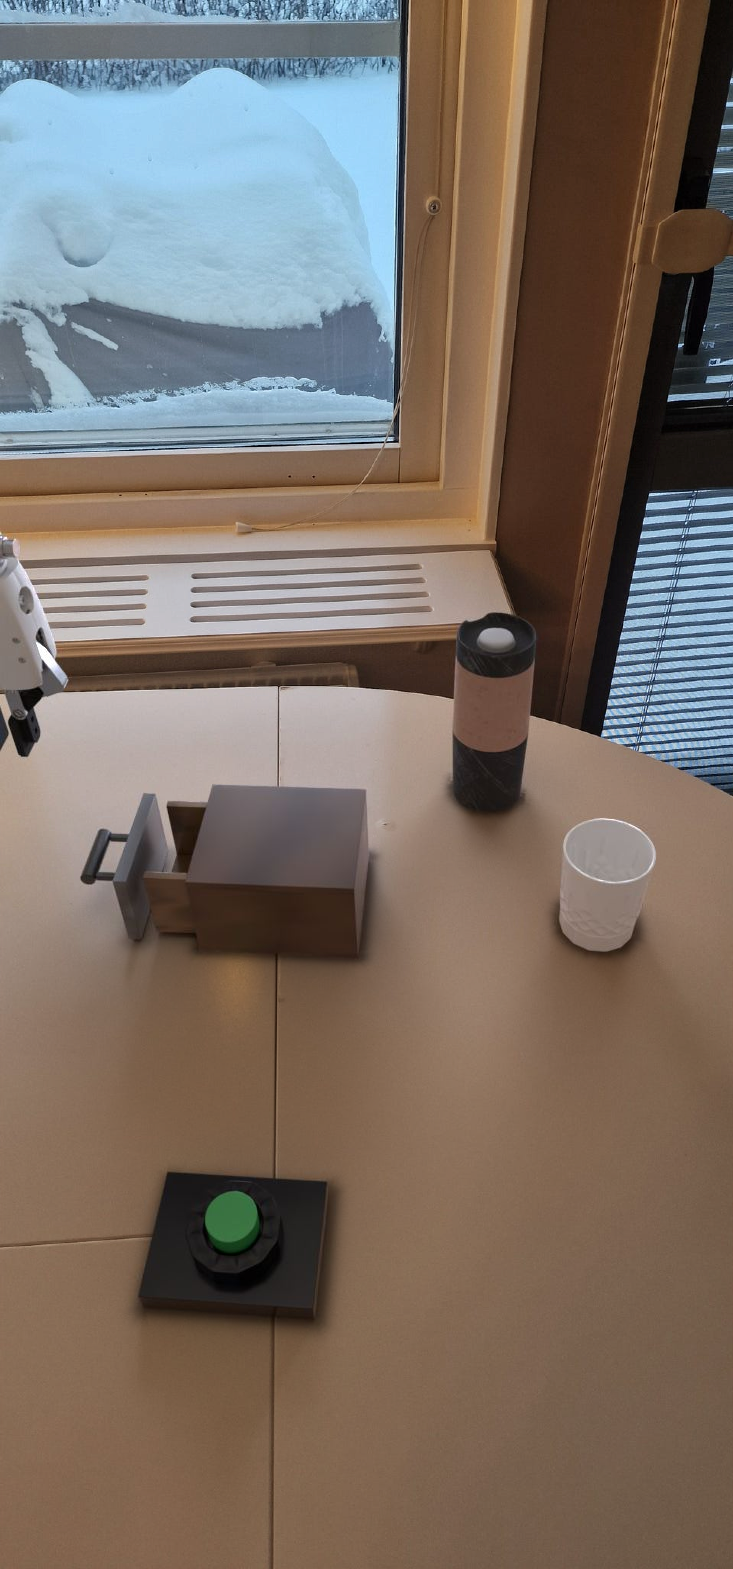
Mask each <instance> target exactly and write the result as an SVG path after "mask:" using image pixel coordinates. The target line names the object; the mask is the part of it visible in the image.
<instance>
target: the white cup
mask: <svg viewBox="0 0 733 1569" xmlns="http://www.w3.org/2000/svg"><path fill="white" fill-rule="evenodd" d="M561 856H562V857H561V858H562V859H561V870H560V881H559V882H560V883H559V885H560V889H559V890H560V891H559V916H558V917H559V918H558V921H559V925H560V927H561V930H562V933H563V934H564V935H565V937H567V939H568V940H570V941H571V943H572V944H574V945H575V946H578V947H580V948H583V949H585V950H587V951H590V952H591V951H593V952H604V953H605V952H610V951H613V950H616V949H620V948H622V947H623V946H624V945H626V943H627V942H629V940H631V939H632V936H633V932H634V928H635V925H636V922H637V919H638V918H639V916H640V914H641V911H642V907H643V905H644V901H645V899H646V896H647V891H648V888H649V886H650V881H651V878H652V874H653V872H654V868H655V864H656V861H657V852H656V847H655V846H654V844H653V842H652V840H651V839H650V838H649V837H648V835H647V834H646V833H645V832H643V831H642V830H641V829H639V828H638V827H636V826H635V825H633V824H630V823H629V822H625V821H622V820H619V819H612V818H593V819H588V820H585V821H582V822H580V823H578V824H576V825H575V826H573V827H572V828H571V829H570V830H569V831H568V832H567V833H566V835H565V837H564V840H563V842H562V855H561Z"/></svg>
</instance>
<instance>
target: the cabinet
mask: <svg viewBox="0 0 733 1569" xmlns="http://www.w3.org/2000/svg"><path fill="white" fill-rule="evenodd" d="M207 802H208V803H207V806H206V810H205V813H204V817H203V820H202V824H201V827H200V831H199V834H198V838H197V842H196V845H195V849H194V852H193V856H192V859H191V863H190V866H189V870H188V873H187V877H186V880H185V885H186V889H187V894H188V898H189V903H190V907H191V912H192V917H193V921H194V926H195V931H196V933H195V934H196V939H197V943H198V950H199V951H200V952H216V953H217V952H218V953H238V954H259V955H260V954H262V955H264V954H265V955H283V956H284V955H285V956H307V957H329V958H350V959H351V958H352V959H358V958H359V953H360V945H361V936H362V928H363V918H364V916H363V915H364V907H365V899H366V898H365V897H366V889H367V879H368V871H369V862H370V861H369V860H370V855H369V854H370V852H369V849H370V848H369V827H368V802H367V789H366V788H344V787H315V786H314V787H313V786H311V787H310V786H282V785H281V786H280V785H279V786H277V785H253V784H252V785H248V784H217V783H213V784H212V785H211V789H210V793H209V796H208V799H207Z"/></svg>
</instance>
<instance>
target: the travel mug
mask: <svg viewBox="0 0 733 1569" xmlns="http://www.w3.org/2000/svg"><path fill="white" fill-rule="evenodd" d="M455 641H456V642H455V643H456V644H455V661H454V662H455V664H454V665H455V666H454V685H453V706H452V707H453V708H452V732H451V734H452V735H451V736H452V737H451V738H452V791H453V794H454V797H455V798H456V800H457V802H459V803H460V804H461V805H463V806H465V807H466V808H468V809H471V810H473V811H477V812H483V813H493V812H501V811H503V810H505V809H508V808H510V807H511V806H513V805H514V804H515V803H516V802H517V801H518V799H519V797H520V794H521V789H522V782H523V775H524V769H525V768H524V767H525V761H526V753H527V746H528V738H529V731H530V721H531V706H532V696H533V684H534V673H535V672H534V671H535V660H536V659H535V658H536V650H537V649H536V648H537V633H536V630H535V628H534V626H533V625H532V624H531V623H530V622H529V621H527V619H524V618H522V617H520V616H518V615H515V614H511V613H507V612H495V611H494V612H488V613H485V615H484V616H483V617H481V618H479V619H475V620H471V621H470V620H467V619H465V620H463V621H462V622H461V624H460V625H459V627H458V629H457V631H456V640H455Z"/></svg>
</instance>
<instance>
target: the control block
mask: <svg viewBox="0 0 733 1569" xmlns="http://www.w3.org/2000/svg"><path fill="white" fill-rule="evenodd" d="M232 1191H236V1192H241V1193H244V1194H246V1195H248V1196H249V1197H250V1198H251V1199H252V1200H253V1201H254V1203H255V1205H256V1208H257V1212H258V1217H259V1222H260V1229H259V1233H258V1236H257V1238H256V1239H255V1241H254V1242H253V1243H252V1245H251V1246H249V1247H248V1248H247V1249H245V1250H243V1251H241V1252H238V1253H225V1252H222V1251H220V1250H218V1249H217V1248H215V1247H214V1245H213V1244H212V1243H211V1241H210V1239H209V1235H208V1232H207V1228H206V1225H205V1215H206V1211H207V1209H208V1207H209V1205H210V1204H211V1202H212V1201H213V1200H214V1199H215V1198H217V1197H218V1196H220V1195H222V1194H224V1193H227V1192H232ZM329 1193H330V1192H329V1185H328V1181H324V1180H308V1179H293V1178H291V1179H290V1178H276V1177H275V1178H273V1177H259V1176H258V1177H257V1176H242V1175H227V1174H214V1173H213V1174H212V1173H211V1174H209V1173H197V1172H196V1173H194V1172H180V1171H179V1172H178V1171H166V1176H165V1179H164V1185H163V1188H162V1193H161V1197H160V1201H159V1206H158V1210H157V1215H156V1218H155V1223H154V1226H153V1232H152V1235H151V1239H150V1244H149V1248H148V1252H147V1257H146V1261H145V1266H144V1270H143V1273H142V1278H141V1283H140V1286H139V1291H138V1299H139V1302H140V1304H141V1307H142V1308H144V1309H156V1310H157V1309H158V1310H168V1311H169V1310H171V1311H183V1312H184V1311H185V1312H198V1313H212V1314H226V1315H240V1316H253V1317H254V1316H255V1317H267V1318H279V1319H295V1320H309V1321H315V1320H316V1312H317V1305H318V1304H317V1303H318V1295H319V1284H320V1277H321V1267H322V1258H323V1248H324V1240H325V1230H326V1221H327V1213H328V1206H329V1204H328V1203H329V1195H330V1194H329Z"/></svg>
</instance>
